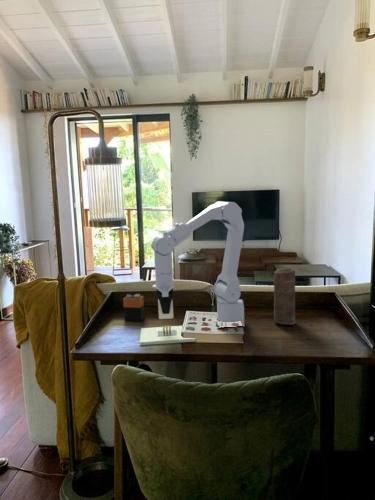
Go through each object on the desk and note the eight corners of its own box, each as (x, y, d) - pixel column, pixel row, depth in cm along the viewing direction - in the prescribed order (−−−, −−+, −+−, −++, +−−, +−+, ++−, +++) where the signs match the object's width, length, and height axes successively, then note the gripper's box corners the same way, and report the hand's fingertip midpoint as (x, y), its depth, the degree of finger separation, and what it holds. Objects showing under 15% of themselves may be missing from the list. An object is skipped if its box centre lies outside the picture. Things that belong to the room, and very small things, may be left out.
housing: (173, 314, 132) (172, 297, 131) (173, 318, 129) (172, 300, 127) (159, 315, 132) (158, 298, 130) (159, 319, 128) (158, 301, 127)
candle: (286, 329, 133) (286, 272, 129) (269, 323, 139) (269, 269, 135) (299, 323, 138) (300, 268, 134) (282, 318, 143) (282, 265, 140)
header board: (192, 327, 138) (191, 318, 137) (195, 341, 126) (194, 330, 125) (141, 331, 137) (140, 321, 136) (139, 345, 125) (139, 334, 124)
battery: (141, 322, 145) (139, 296, 143) (124, 321, 147) (122, 296, 145) (145, 318, 149) (143, 293, 148) (128, 317, 151) (126, 292, 149)
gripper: (152, 267, 134) (154, 305, 137) (151, 278, 120) (153, 319, 122) (172, 266, 135) (174, 304, 137) (174, 276, 120) (176, 318, 123)
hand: (165, 311), depth 130 cm, fingers closed on housing, 3 cm apart
